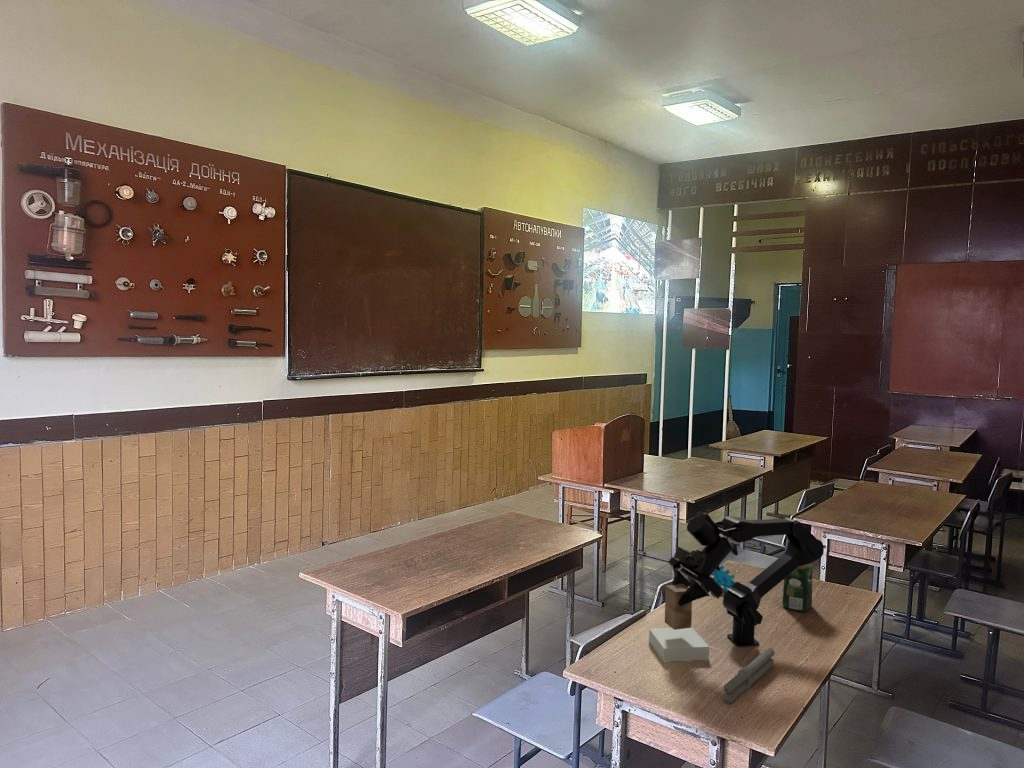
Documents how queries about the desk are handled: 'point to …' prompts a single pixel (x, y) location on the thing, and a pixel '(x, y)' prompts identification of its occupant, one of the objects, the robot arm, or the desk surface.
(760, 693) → the desk surface
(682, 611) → the walnut block
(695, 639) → the plate
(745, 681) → the metal rod assembly
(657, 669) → the desk surface
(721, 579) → the gear
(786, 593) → the coffee jar
